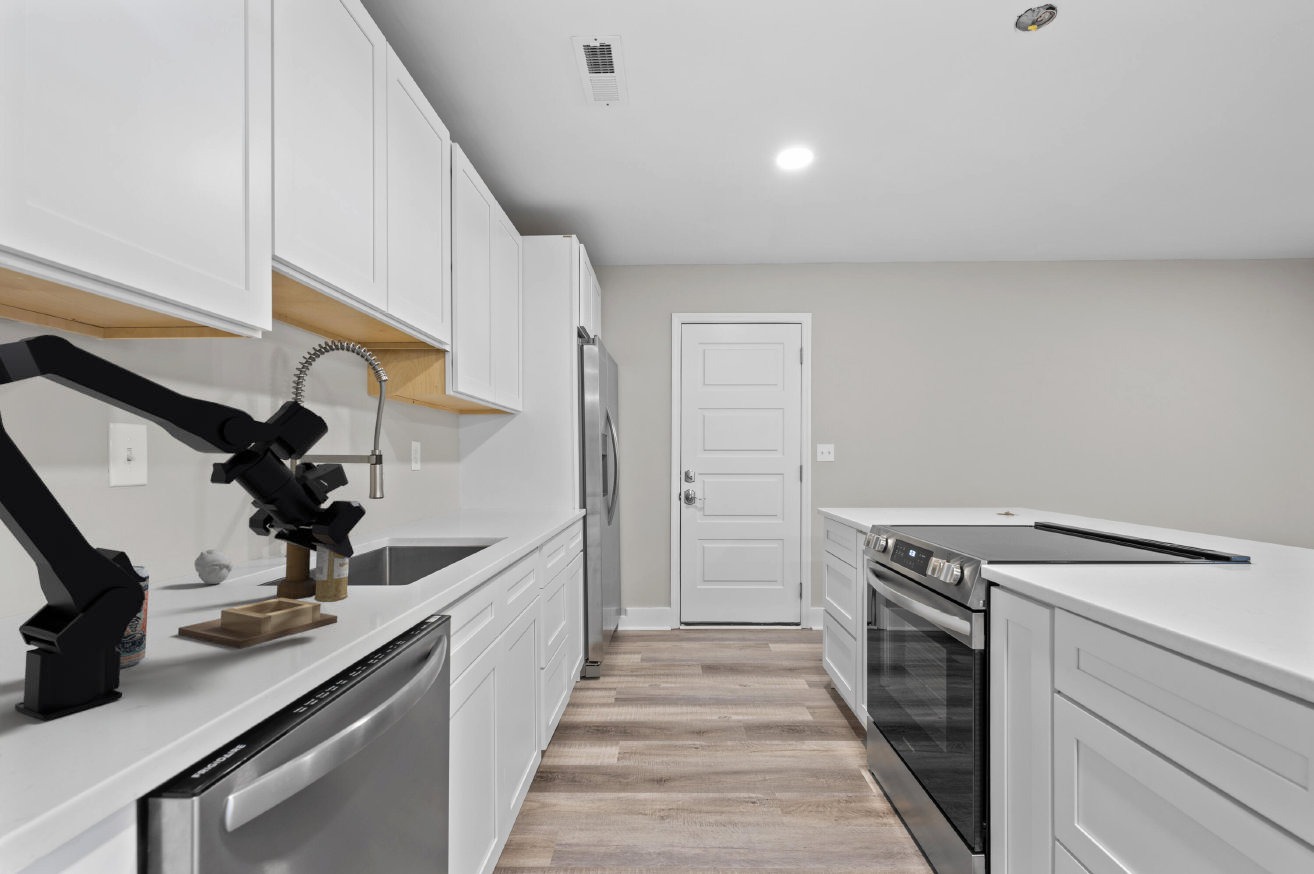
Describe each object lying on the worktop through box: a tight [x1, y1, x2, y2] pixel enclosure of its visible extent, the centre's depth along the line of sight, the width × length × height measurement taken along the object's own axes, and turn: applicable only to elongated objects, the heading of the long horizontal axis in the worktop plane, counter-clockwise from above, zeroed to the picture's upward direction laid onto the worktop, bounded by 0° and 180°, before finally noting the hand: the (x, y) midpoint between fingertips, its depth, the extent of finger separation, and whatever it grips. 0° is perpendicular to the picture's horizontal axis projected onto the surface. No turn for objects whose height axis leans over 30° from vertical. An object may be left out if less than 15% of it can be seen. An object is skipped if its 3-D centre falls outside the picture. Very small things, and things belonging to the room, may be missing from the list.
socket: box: [177, 597, 338, 649], centre depth 93 cm, size 15×14×4 cm
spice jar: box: [313, 533, 350, 603], centre depth 91 cm, size 5×5×13 cm
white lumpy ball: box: [194, 548, 234, 585], centre depth 124 cm, size 6×7×7 cm
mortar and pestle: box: [276, 542, 316, 600], centre depth 115 cm, size 7×6×18 cm
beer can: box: [116, 565, 150, 669], centre depth 76 cm, size 5×5×12 cm
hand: (340, 554), depth 93 cm, fingers closed on spice jar, 4 cm apart
